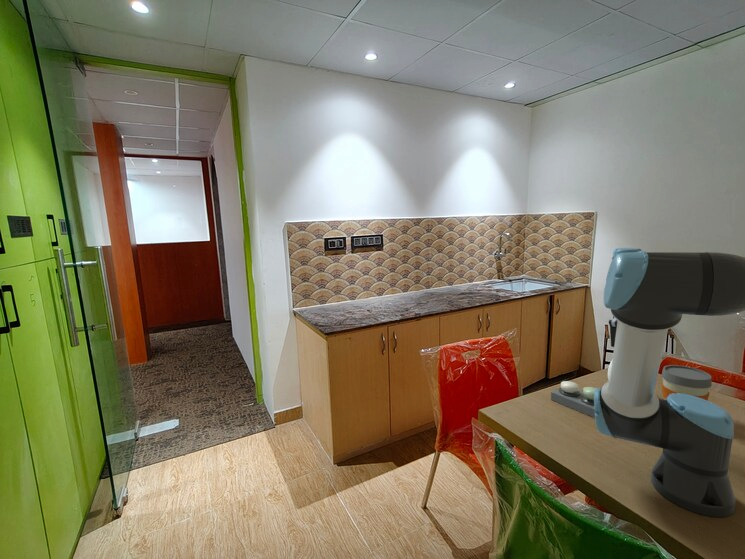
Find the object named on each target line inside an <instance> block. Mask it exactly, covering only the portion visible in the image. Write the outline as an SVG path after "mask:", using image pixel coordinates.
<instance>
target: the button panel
mask: <svg viewBox="0 0 745 559" xmlns="http://www.w3.org/2000/svg"><path fill="white" fill-rule="evenodd" d="M550 400H551V401H553V400H554V401H553V402H555V401H556V402H555V403H558V402H559V403H558V404H560V403H561V405H563V406H565V407H567V408H570V409H573V410H575V411H578V412H580V413H582V414H585V415H587V416H589V417H592V418H593V419H595V409H594V400H593V399H589V398H587V397H585V396H584V395H583V390H581V389H578V392H577V393H568V392H565V391H563V390H562V389H561V387H559V388H557V389H555V390H552V391H551V392H550Z"/></svg>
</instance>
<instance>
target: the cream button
mask: <svg viewBox="0 0 745 559" xmlns="http://www.w3.org/2000/svg"><path fill="white" fill-rule="evenodd" d="M560 388H561V389H562V390H563V391H565V392H568V393H577V392H578V390H579V384H578V383H576V382H574V381H570V380H563V381H561V382H560Z"/></svg>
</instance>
